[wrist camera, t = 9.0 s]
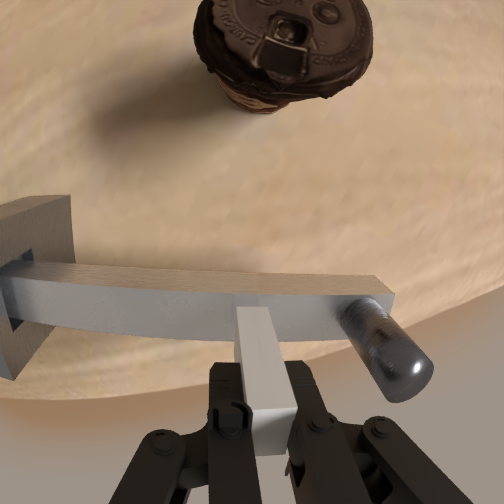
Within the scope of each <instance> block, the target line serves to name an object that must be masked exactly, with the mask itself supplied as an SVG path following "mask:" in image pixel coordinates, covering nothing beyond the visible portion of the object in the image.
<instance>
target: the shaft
mask: <svg viewBox="0 0 504 504" xmlns="http://www.w3.org/2000/svg"><path fill="white" fill-rule="evenodd" d="M0 286H1V291H2V295H3V299H4V303H5V307H6V310H7V314H8V317H11V318H16V319H21V320H26V321H32V322H37V323H43V324H48V325H54V326H61V327H67V328H74V329H81V330H88V331H96V332H104V333H113V334H122V335H132V336H143V337H154V338H168V339H184V340H203V341H235V320H236V306H240V307H268V310H269V313H270V317H271V320H272V323H273V327H274V330H275V333H276V337H277V340H278V342H294V341H325V340H344V339H349V340H350V342H351V343H352V345H353V346H354V348H355V349H356V351H357V353H358V354H359V356H360V357H361V359H362V361H363V362H364V364H365V365H366V367H367V368H368V370H369V372H370V374H371V375H372V377H373V378H374V380H375V382H376V383H377V385H378V387H379V388H380V390H381V391H382V393H383V395H384V396H385V397H386V399H387V400H388V401H389V402H391V403H400V402H404V401H406V400H408V399H410V398H412V397H414V396H415V395H417V394H418V393H419V392H420V391H421V390H422V389H423V388H424V387H425V386H426V385H427V383H428V382H429V381H430V379H431V377H432V374H433V370H434V366H433V363H432V361H431V360H430V359H429V358H428V357H427V356H426V355H425V354H424V352H423V351H422V350H421V349H420V348H419V347H418V346H417V345H416V343H415V342H414V341H413V340H412V339H411V338H410V337H409V336H408V335H407V334H406V332H405V331H404V330H403V329H402V328H401V327H400V326H399V325H398V324H397V323H396V322H395V321H394V319H393V318H392V317H391V316H390V312H391V308H392V305H393V301H394V297H395V293H393V292H392V291H391V290H390V289H389V288H388V287H387V286H386V285H384V284H383V283H382V282H381V281H380V280H379V279H378V278H377V277H375V276H374V275H325V274H285V273H253V272H226V271H201V270H179V269H158V268H138V267H120V266H103V265H87V264H71V263H57V262H43V261H29V260H16V259H13V260H12V261H10V262H8V263H7V264H5V265H4V266H2V267H1V268H0Z"/></svg>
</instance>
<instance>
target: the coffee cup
mask: <svg viewBox="0 0 504 504" xmlns="http://www.w3.org/2000/svg"><path fill="white" fill-rule="evenodd" d="M193 36H194V38H193V39H194V43H195V46H196V51H197V53H198V54H199V56H200V59H201V60H202V61H203V62H204V63H205V64H206V65H207V67H208V69H207V70H208V71H209V73H215V75H216V77H217V79H218V81H219V83H220V85H221V87H222V88H223V89H224V91H225V93H226V94H227V96H228V97H229V98H230V99H231V100H232V101H233V102H235V103H236V104H237V105H239V106H241V107H242V108H245V109H247V110H250V111H253V112H256V113H275V112H277V111H278V110H280V109H281V108H284V107H286V106H287V105H288V104H289V103H290V102H295V101H301V100H306V99H311V98H317V97H322V98H324V99H327V98H328V97H332V96H334V95H335V94H337V93H338V92H339V91H341V90H343V89H344V88H346V87H348V86H352V85H353V83H354V82H356V81H357V80H358V79H360V78H361V76H362V75H363V74H364V73H365V72H366V69H367V68H368V65H369V64H370V61H371V58H372V55H373V29H372V21H371V18H370V15H369V12H368V9H367V7H366V6H365V4H364V3H363V1H362V0H203V1H202V2H201V4H200V5H199V7H198V11H197V15H196V18H195V22H194V29H193Z"/></svg>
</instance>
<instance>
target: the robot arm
mask: <svg viewBox="0 0 504 504" xmlns="http://www.w3.org/2000/svg"><path fill="white" fill-rule="evenodd" d="M234 358H235V363H225V362H215V363H214V365H213V366H212V368H211V369H210V373H209V409H208V413H207V416H208V417H207V418H208V422H207V423H206V425H205V426H204V427H203V428H202V429H201V430H199V431H197V432H194V433H191V434H186V435H181V436H180V435H179V434H178V433H176V432H174V431H171V430H165V429H160V430H154V431H152V432H150V433H148V434H147V435H146V436H145V437H144V438H143V440H142V442H141V444H140V445H139V448H138V449H137V451H136V453H135V455H134V457H133V458H132V460H131V462H130V464H129V466H128V468H127V470H126V472H125V474H124V475H123V478H122V480H121V481H120V483H119V485H118V487H117V489H116V491H115V492H114V494H113V496H112V498H111V500H110V502H109V504H186V503H187V500H188V497H189V494H190V491H191V489H192V488H196V487H200V486H204V485H208V484H209V504H262V500H261V493H260V487H259V480H258V473H257V467H256V459H255V456H268V455H280V454H281V455H282V454H285V453H286V450H287V448H288V451H289V456H290V457H289V461H288V463H287V466H286V470H285V476H287V475H288V474H289V473H290V478H291V483H292V487H293V491H294V495H295V500H296V504H473V503H472V502H471V500H470V499H468V497H467V496H466V495H464V493H462V491H460V490H459V488H458V487H457V486H456V485H455V484H454V483H453V482H452V481H451V480H450V479H449V478H448V477H447V476H446V475H445V474H444V473H443V472H442V471H441V470H440V469H439V468H438V467H437V466H436V465H435V464H434V463H433V462H432V460H431V459H430V458H428V456H427V455H426V454H425V453H424V452H423V451H422V450H421V449H420V448H419V447H418V446H417V445H416V444H415V443H414V442H413V441H412V440H411V439H410V438H409V437H408V435H407V434H405V432H404V431H403V430H402V429H401V428H400V427H399V426H398V425H397V424H396V423H395V422H394V421H392V420H391V419H389V418H386V417H384V416H383V417H381V416H375V417H371V418H369V419H368V420H366V421H365V423H364V425H357V424H347V423H342V422H340V421H338V420H337V418H336V417H335V416H334V415H332V414H331V413H328V412H327V410H326V407H325V405H324V402H323V400H322V397H321V395H320V392H319V390H318V387H317V385H316V382H315V380H314V378H313V375H312V372H311V370H310V368H309V367H308V366H307V365H306V364H305V363H304V362H303V361H302V360H298V361H284V360H283V357H282V353H281V350H280V347H279V343H278V340H277V337H276V333H275V330H274V327H273V323H272V320H271V317H270V313H269V310H268V307H240V306H236V320H235V341H234Z"/></svg>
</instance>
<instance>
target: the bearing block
mask: <svg viewBox="0 0 504 504" xmlns="http://www.w3.org/2000/svg"><path fill="white" fill-rule="evenodd" d="M13 259H16V260H29V261H43V262H57V263H71V264H75V256H74V246H73V235H72V222H71V202H70V195H47V196H29V197H25V198H22V199H19V200H16V201H13V202H9V203H6V204H3V205H0V268H1V267H2V266H4V265H5V264H7V263H8V262H10V261H12V260H13ZM55 327H56V326H54V325H48V324H43V323H37V322H32V321H26V320H21V319H16V318H11V317H8V314H7V310H6V307H5V303H4V299H3V295H2V291H1V286H0V377H3V378H6V379H9V380H12V381H14V380H15V379H16V377H17V376H18V375H19V373H20V372H21V371H22V369H23V368H24V367H25V365H26V364H27V363H28V361H29V360H30V359H31V357H32V356H33V355H34V353H35V352H36V351H37V349H38V348H39V347H40V346H41V344H42V343H43V342H44V341H45V339H46V338H47V337H48V336H49V334H50V333H51V332H52V331H53V329H54V328H55Z"/></svg>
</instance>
